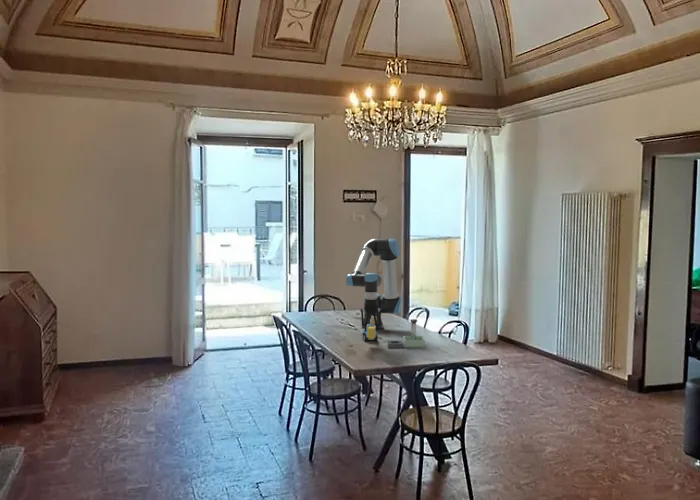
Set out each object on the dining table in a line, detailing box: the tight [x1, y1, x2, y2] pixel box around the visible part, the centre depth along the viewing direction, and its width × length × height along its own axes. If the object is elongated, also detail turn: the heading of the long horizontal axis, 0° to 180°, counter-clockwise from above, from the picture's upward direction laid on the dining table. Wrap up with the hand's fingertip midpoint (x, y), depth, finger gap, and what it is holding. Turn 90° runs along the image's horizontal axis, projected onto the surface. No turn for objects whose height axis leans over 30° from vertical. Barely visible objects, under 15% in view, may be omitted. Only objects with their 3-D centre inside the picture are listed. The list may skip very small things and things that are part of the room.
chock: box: [368, 327, 375, 338], centre depth 361 cm, size 4×6×6 cm, turn 179°
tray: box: [402, 335, 426, 349], centre depth 363 cm, size 12×12×4 cm
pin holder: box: [386, 340, 404, 349], centre depth 362 cm, size 9×9×2 cm
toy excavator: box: [361, 316, 379, 342], centre depth 376 cm, size 9×17×17 cm, turn 11°
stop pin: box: [410, 318, 418, 340], centre depth 363 cm, size 4×4×15 cm
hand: (371, 336), depth 361 cm, fingers closed on chock, 4 cm apart
